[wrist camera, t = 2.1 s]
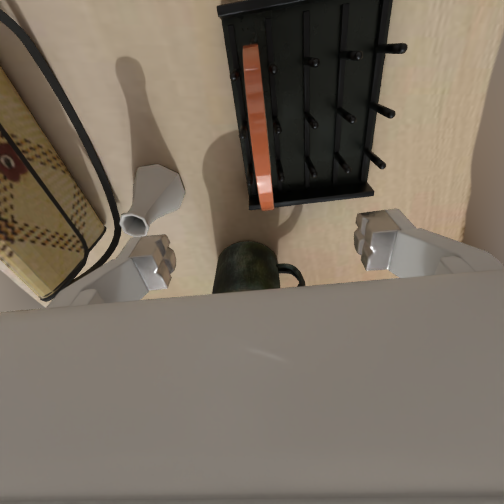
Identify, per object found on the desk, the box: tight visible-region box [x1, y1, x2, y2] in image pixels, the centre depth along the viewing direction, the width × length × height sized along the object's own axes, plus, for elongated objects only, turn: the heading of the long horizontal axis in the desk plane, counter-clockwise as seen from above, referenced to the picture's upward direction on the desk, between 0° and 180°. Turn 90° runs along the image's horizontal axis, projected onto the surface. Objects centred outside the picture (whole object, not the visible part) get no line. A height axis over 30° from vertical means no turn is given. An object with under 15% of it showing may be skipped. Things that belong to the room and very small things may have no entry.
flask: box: [119, 164, 185, 237], centre depth 33 cm, size 7×7×10 cm
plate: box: [243, 43, 274, 211], centre depth 25 cm, size 14×1×14 cm, turn 8°
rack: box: [217, 0, 407, 210], centre depth 28 cm, size 20×16×7 cm
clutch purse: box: [0, 9, 121, 302], centre depth 27 cm, size 30×7×15 cm, turn 11°
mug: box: [212, 241, 305, 294], centre depth 40 cm, size 11×15×12 cm
